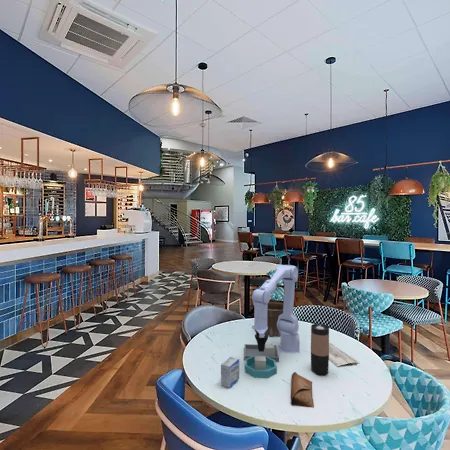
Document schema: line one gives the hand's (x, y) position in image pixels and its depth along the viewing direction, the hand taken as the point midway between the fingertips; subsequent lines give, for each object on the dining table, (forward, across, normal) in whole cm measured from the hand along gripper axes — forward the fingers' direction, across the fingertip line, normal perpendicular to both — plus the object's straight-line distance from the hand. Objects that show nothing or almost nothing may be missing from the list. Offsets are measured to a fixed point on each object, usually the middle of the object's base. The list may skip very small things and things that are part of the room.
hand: (260, 347), depth 126 cm
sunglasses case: (+11, +15, +15) cm, 24 cm away
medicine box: (+11, +10, -13) cm, 20 cm away
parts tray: (+10, -14, +1) cm, 17 cm away
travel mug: (+11, -1, +26) cm, 28 cm away
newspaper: (+11, -18, +38) cm, 43 cm away
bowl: (+10, 0, 0) cm, 10 cm away
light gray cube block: (+10, -14, +5) cm, 18 cm away
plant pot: (+11, -43, +10) cm, 45 cm away
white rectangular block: (+10, 0, 0) cm, 10 cm away
